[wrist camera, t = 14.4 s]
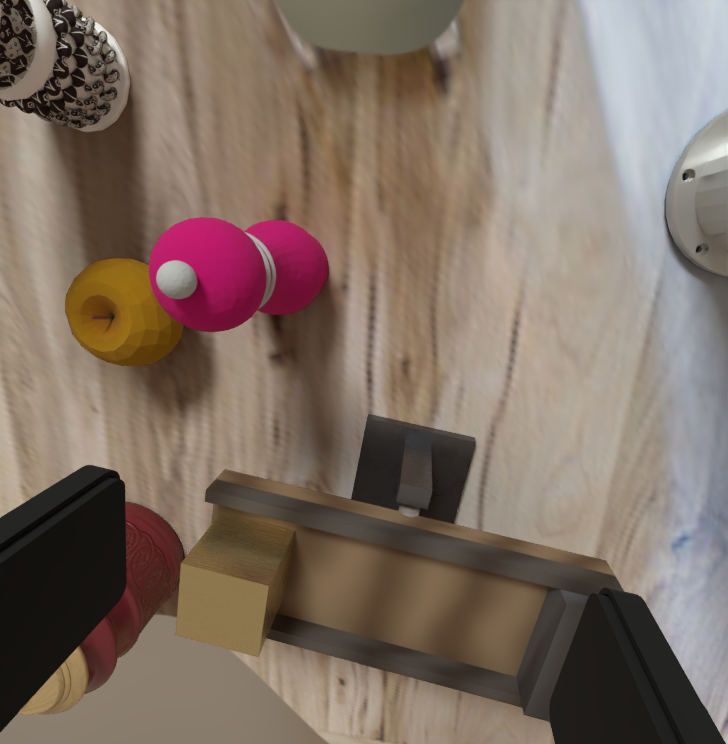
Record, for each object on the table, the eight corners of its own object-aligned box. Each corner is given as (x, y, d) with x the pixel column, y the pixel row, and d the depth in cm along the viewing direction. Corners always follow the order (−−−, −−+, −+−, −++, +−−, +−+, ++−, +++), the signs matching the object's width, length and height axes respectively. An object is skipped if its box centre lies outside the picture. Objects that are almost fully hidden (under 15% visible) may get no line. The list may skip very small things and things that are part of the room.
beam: (602, 545, 34) (636, 601, 29) (551, 672, 38) (573, 744, 32) (231, 457, 37) (196, 493, 31) (218, 584, 40) (184, 637, 35)
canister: (185, 506, 47) (51, 648, 30) (189, 605, 51) (71, 782, 34) (73, 490, 49) (-114, 616, 32) (85, 588, 52) (-78, 749, 35)
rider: (295, 530, 34) (268, 585, 28) (285, 592, 36) (258, 657, 30) (221, 511, 35) (180, 563, 29) (215, 574, 36) (175, 634, 31)
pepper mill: (337, 306, 39) (253, 357, 20) (259, 309, 40) (109, 361, 21) (330, 220, 38) (231, 187, 18) (249, 226, 39) (76, 201, 19)
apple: (226, 318, 41) (174, 335, 32) (161, 371, 43) (96, 400, 35) (163, 237, 40) (91, 232, 31) (99, 296, 42) (16, 307, 34)
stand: (474, 437, 41) (487, 488, 32) (426, 609, 46) (427, 693, 38) (368, 414, 42) (353, 457, 33) (334, 586, 47) (313, 662, 38)
